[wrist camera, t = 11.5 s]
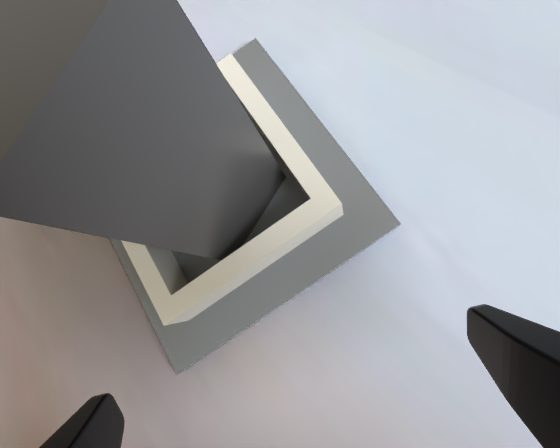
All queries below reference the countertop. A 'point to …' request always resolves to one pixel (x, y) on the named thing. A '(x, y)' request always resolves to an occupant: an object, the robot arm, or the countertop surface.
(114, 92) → the plug
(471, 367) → the countertop surface
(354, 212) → the socket board
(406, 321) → the countertop surface
